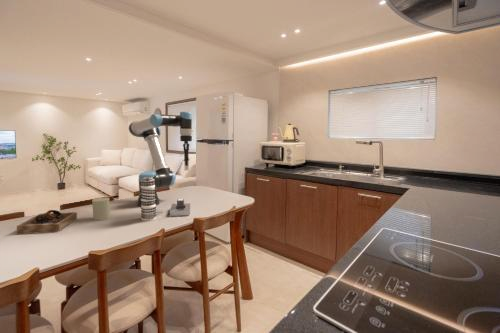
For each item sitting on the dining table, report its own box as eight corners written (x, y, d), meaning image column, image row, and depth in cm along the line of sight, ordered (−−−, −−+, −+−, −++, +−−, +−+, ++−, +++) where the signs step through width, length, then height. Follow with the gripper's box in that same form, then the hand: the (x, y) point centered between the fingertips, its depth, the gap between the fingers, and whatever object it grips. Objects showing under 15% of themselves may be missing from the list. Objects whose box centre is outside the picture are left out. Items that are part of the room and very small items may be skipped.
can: (113, 216, 162) (112, 197, 160) (101, 221, 153) (99, 200, 152) (102, 214, 165) (101, 196, 163) (89, 219, 156) (87, 199, 155)
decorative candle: (140, 217, 161) (139, 176, 158) (156, 215, 165) (155, 176, 162) (140, 221, 153) (138, 179, 150) (157, 220, 156) (155, 178, 153)
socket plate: (169, 216, 163) (169, 210, 163) (172, 209, 179) (172, 203, 178) (189, 215, 165) (189, 209, 165) (190, 208, 181) (190, 203, 181)
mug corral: (17, 233, 133) (16, 226, 132) (41, 220, 153) (40, 213, 153) (59, 231, 136) (59, 224, 136) (77, 218, 157) (76, 212, 156)
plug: (177, 213, 170) (176, 200, 169) (177, 211, 174) (177, 199, 173) (183, 213, 170) (183, 200, 169) (184, 211, 174) (184, 198, 173)
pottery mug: (52, 220, 155) (59, 208, 155) (60, 229, 151) (66, 218, 151) (29, 220, 144) (36, 208, 144) (36, 231, 140) (43, 218, 140)
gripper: (191, 135, 171) (192, 171, 173) (192, 135, 183) (192, 168, 186) (179, 135, 169) (180, 171, 172) (180, 135, 182) (181, 168, 185)
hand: (186, 170), depth 179 cm, fingers closed
